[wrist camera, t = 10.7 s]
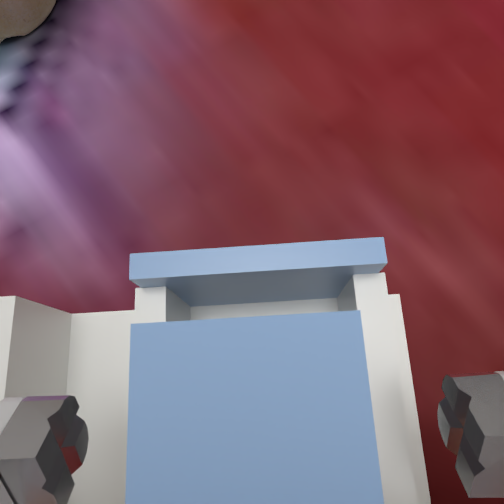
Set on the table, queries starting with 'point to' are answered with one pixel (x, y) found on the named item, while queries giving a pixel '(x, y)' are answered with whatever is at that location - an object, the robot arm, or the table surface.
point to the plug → (251, 412)
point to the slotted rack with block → (215, 307)
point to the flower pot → (22, 16)
